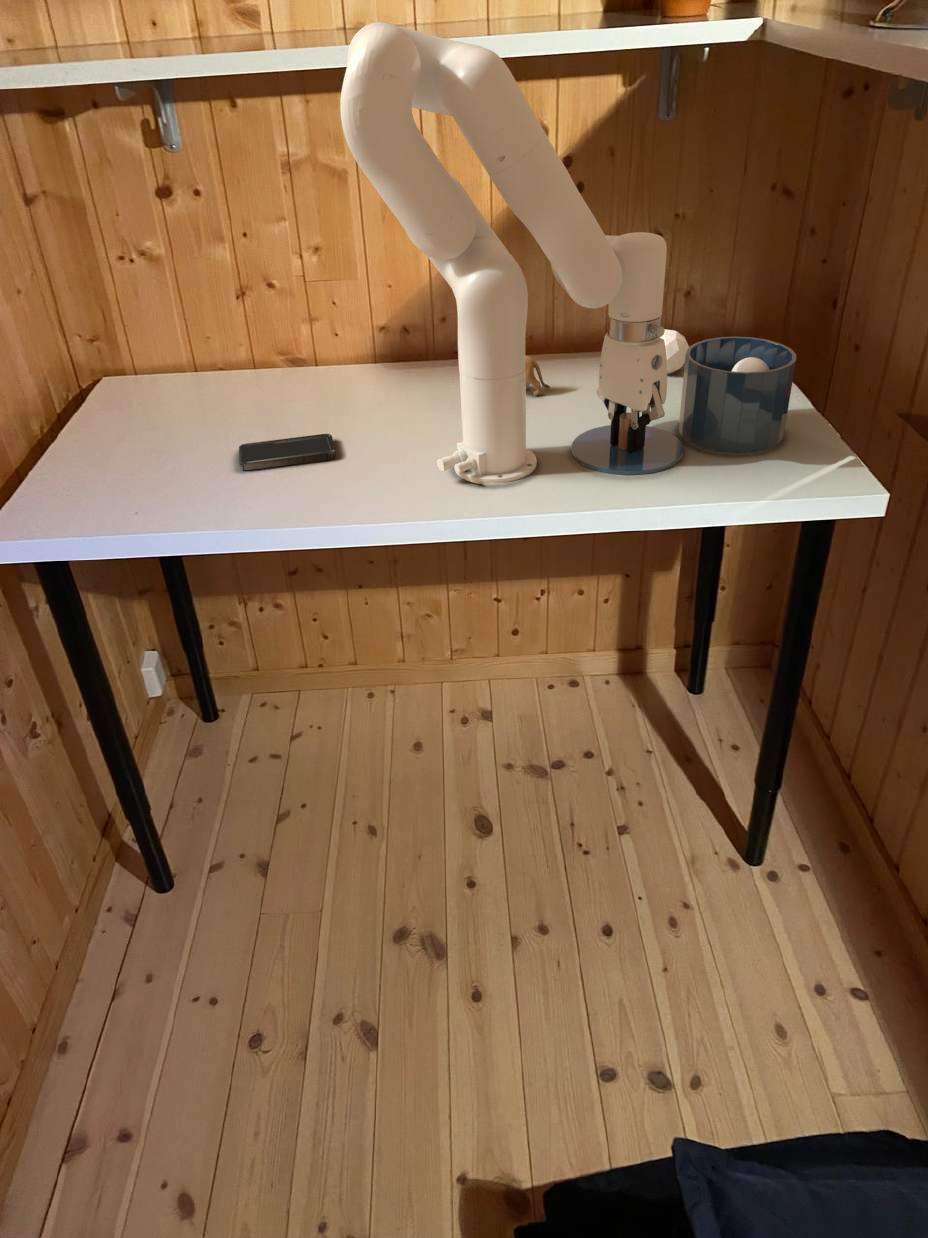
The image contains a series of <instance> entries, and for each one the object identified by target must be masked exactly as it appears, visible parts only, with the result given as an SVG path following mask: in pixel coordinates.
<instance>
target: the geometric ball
mask: <svg viewBox="0 0 928 1238" xmlns="http://www.w3.org/2000/svg"><path fill="white" fill-rule="evenodd" d="M664 330H665V332H664V334H663V336H662V337H660V338H662V339H664V342H665V348H666V357H667V375H670V374H673V373H675V372H676V371H678V370H680V369H681V368H682V367H684V365H685V356H686V352H687V349H688V348H689V347H690V345H689V343H688V341H687V340H686V337H685V336H684V335H683V334H681V333H680V332H679V331H677V330H673V329H665V328H664Z"/></svg>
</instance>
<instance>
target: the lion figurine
mask: <svg viewBox="0 0 928 1238" xmlns="http://www.w3.org/2000/svg"><path fill="white" fill-rule="evenodd" d="M525 366H526V390H527V389H528V388H529V387H530V385H532V386H533V387H535V388H536V390H535V391H533V395H534V396H535V397H539V396H540V395H541V394H542V387H543V388H544V389H547V390H548V389H550V388H551V386H550V385H548V384H546V383H545V382H544V379H543V375H542V372H541V371H542V370H541V368H540V366H539V364H538V362H537V360H535V359H534V358H533V357H532V356H529V355H526V354H525ZM534 369H535V371H536V373H537V374H536V375H537V377H538V379H539V380H538V379H537V378H536V376H535V371H534Z"/></svg>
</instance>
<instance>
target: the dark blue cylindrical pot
mask: <svg viewBox="0 0 928 1238" xmlns="http://www.w3.org/2000/svg"><path fill="white" fill-rule="evenodd" d="M749 357H755V358H759V359H761V360H762V361H764V362H765V363H766V364H767V366H768V367H769V370H767V371H761V372H732V369H733V367H734V366H735V365H736V364H737V363H738V362H739V361H741V360H742V359H745V358H749ZM796 363H797V353H795V351H794V350H793V348H790V347H789V346H786V345H785V344H783V343H781V342H777V341H773V340H769V339H766V338H765V339H764V338H758V337H752V336H722V337H714V338H708V339H707V338H706V339H704V340H702V341H698V342H694V343H693V344H691V345H689V348H688V349H687V352H686V356H685V363H684V365H683V367H684V369H683V377H682V389H681V401H680V410H679V421H678V433H679V434H680V437H681V438H683V439H684V440H685V441H686V442H688V443H689V444H691V445H694V446H696V447H698V448H700V449H704V450H709V451H713V452H717V453H728V454H745V453H746V454H747V453H748V454H749V453H756V452H761V451H765V450H768V449H771V448H773V447H775V446H777V445H778V444H780V443H781V442H782V441H783V439H784V437H785V436H784V435H785V431H786V430H785V429H786V424H787V418H788V413H789V405H790V399H791V395H792V394H791V393H792V387H793V381H794V376H795V375H794V374H795V370H796Z"/></svg>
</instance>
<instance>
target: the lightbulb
mask: <svg viewBox="0 0 928 1238" xmlns="http://www.w3.org/2000/svg"><path fill="white" fill-rule="evenodd" d="M767 370H769V367H768V366H767V364H766V363H765V362H764V361H762V360H761V359H759V358H755V357H749V358H745V359H742V360H741V361H739V362H738V363H737V364H736V365H735V366H734V367H733V369H732V372H761V371H767Z"/></svg>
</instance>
